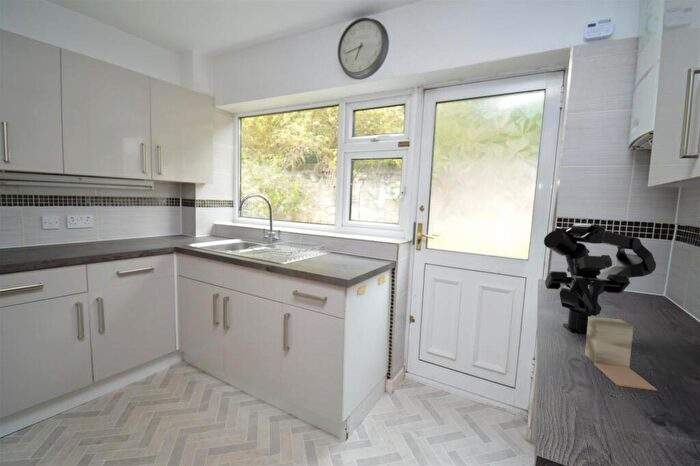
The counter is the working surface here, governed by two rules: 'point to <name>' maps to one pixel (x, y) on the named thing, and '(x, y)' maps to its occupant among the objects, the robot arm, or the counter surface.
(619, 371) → the pad
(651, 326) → the counter surface
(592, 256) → the robot arm
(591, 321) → the birch block
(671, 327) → the counter surface
